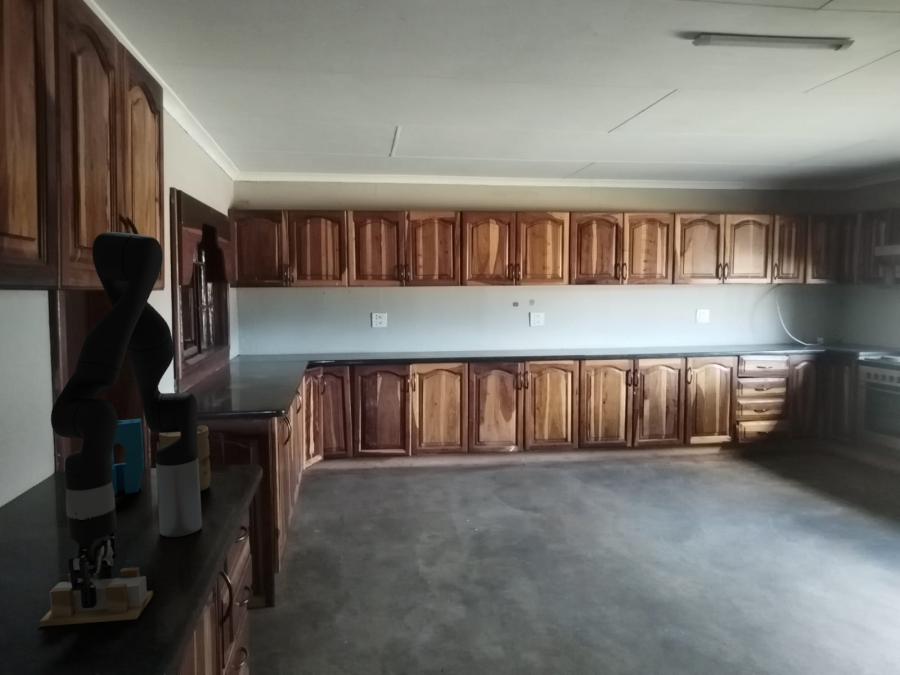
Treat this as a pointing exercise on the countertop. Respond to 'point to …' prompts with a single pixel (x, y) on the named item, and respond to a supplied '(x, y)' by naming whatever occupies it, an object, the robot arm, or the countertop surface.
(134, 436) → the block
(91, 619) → the rack
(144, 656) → the countertop surface
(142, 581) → the clay bar
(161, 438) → the container
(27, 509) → the countertop surface
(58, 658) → the countertop surface
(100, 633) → the countertop surface
